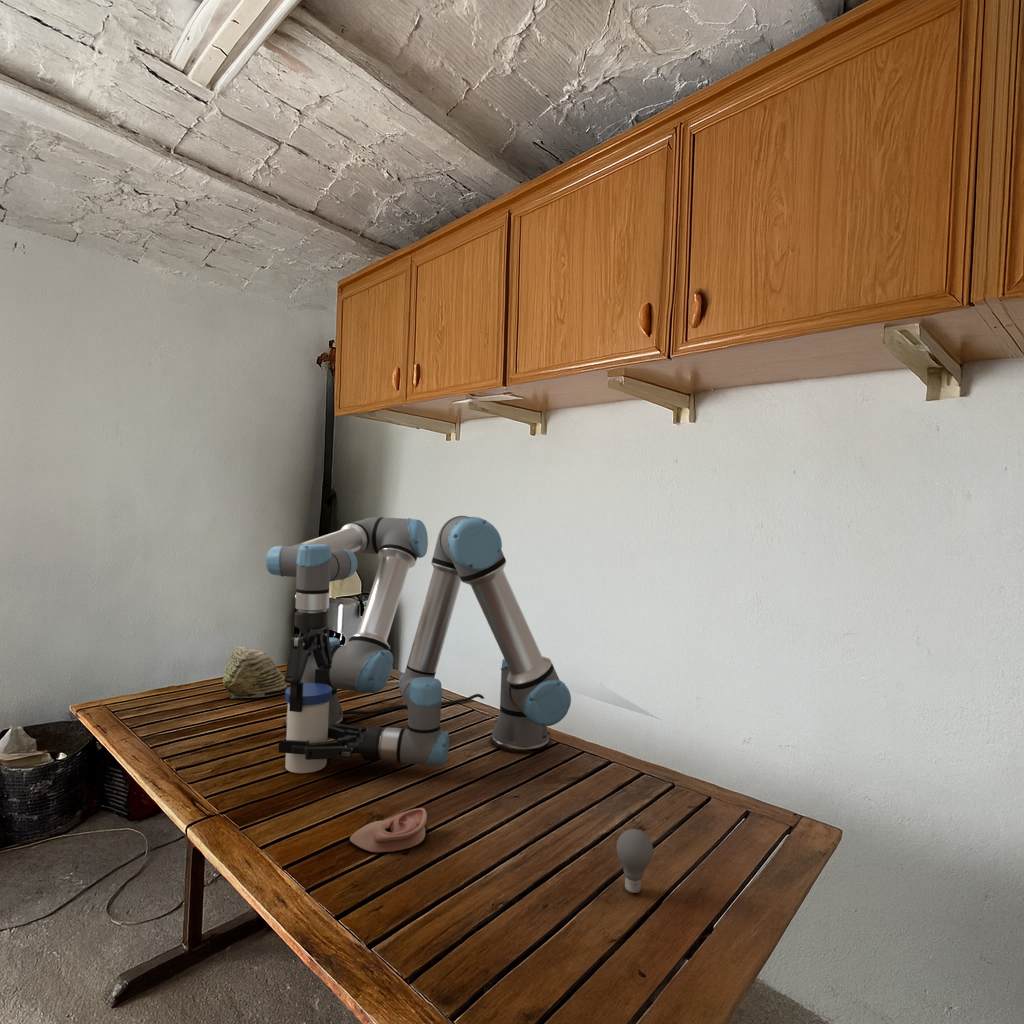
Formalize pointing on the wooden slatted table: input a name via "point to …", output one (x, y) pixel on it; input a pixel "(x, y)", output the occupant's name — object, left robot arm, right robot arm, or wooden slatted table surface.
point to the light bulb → (634, 857)
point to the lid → (313, 693)
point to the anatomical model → (392, 832)
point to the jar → (307, 735)
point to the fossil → (252, 674)
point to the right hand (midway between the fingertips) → (288, 737)
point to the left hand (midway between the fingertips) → (308, 703)
